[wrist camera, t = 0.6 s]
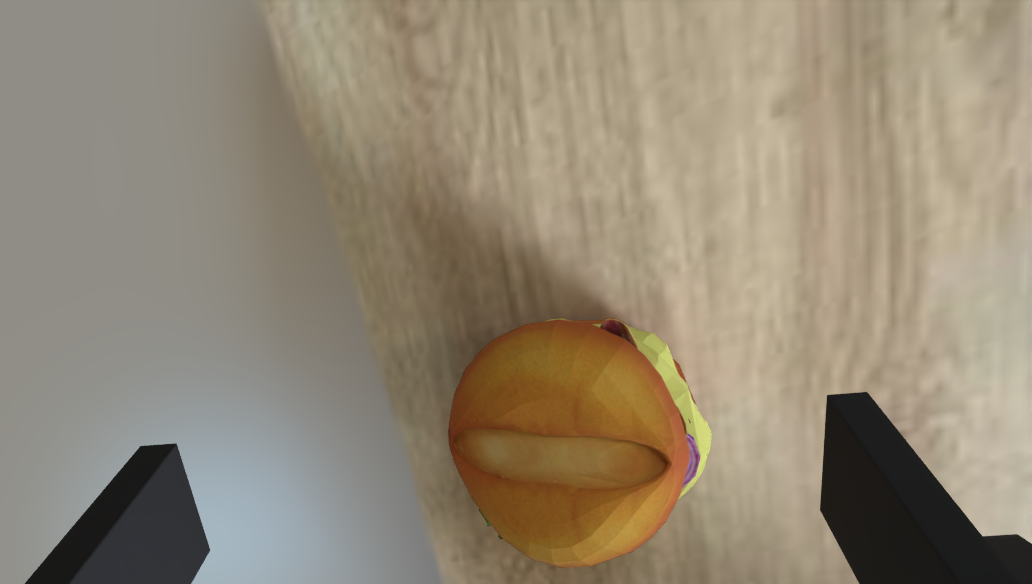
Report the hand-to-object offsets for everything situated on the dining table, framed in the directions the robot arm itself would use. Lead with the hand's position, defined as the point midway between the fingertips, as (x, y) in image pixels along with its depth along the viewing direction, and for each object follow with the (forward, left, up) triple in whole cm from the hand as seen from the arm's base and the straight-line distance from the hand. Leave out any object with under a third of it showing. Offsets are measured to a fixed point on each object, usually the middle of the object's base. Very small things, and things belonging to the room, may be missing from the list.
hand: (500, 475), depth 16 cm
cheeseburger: (+8, +1, -18) cm, 20 cm away
